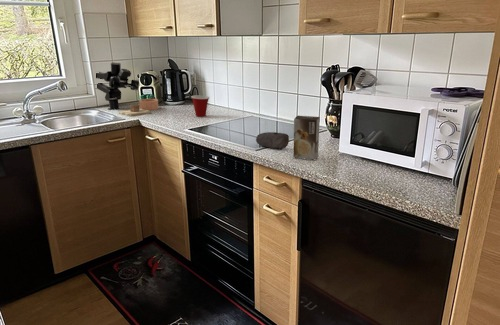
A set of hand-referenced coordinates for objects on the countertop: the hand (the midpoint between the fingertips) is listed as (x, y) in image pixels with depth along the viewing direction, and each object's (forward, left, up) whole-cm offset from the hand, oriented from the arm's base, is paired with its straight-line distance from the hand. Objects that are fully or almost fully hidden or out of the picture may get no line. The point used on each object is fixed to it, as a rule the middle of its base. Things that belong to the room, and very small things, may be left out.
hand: (131, 87), depth 228 cm
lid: (0, +1, -16) cm, 16 cm away
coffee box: (+129, +2, -17) cm, 130 cm away
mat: (0, +1, -17) cm, 17 cm away
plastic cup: (+35, +25, -17) cm, 46 cm away
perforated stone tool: (+110, +3, -17) cm, 111 cm away
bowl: (-8, +15, -17) cm, 24 cm away
